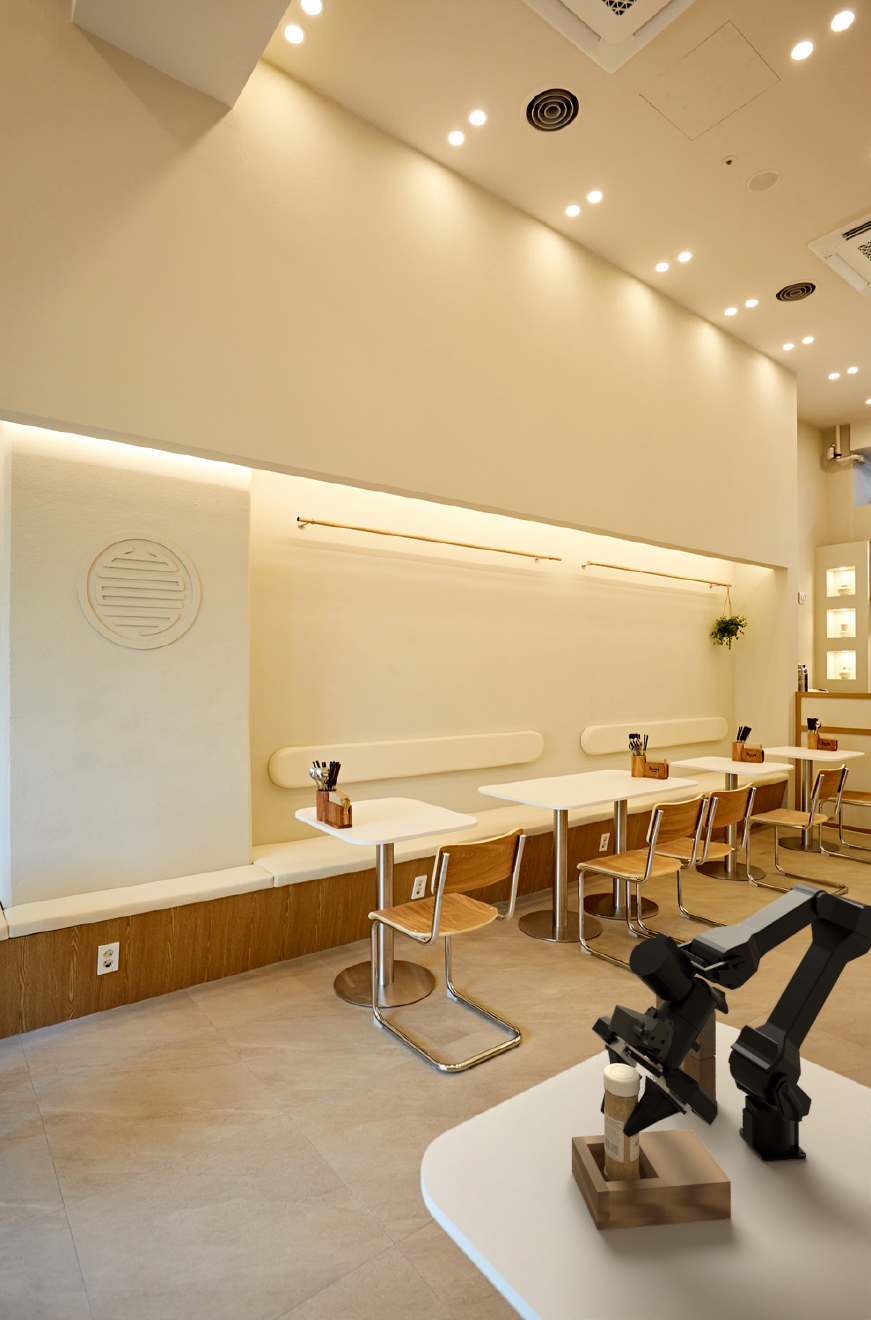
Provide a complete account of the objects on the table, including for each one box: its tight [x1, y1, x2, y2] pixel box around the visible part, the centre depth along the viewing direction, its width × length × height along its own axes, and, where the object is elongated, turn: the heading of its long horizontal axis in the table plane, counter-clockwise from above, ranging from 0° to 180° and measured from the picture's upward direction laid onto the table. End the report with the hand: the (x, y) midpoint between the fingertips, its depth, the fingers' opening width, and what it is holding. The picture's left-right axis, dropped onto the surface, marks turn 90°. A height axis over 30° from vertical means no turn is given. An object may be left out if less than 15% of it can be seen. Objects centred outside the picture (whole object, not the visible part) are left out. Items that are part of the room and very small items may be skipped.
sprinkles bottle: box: [602, 1063, 641, 1182], centre depth 89 cm, size 5×5×14 cm
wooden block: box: [655, 995, 717, 1101], centre depth 113 cm, size 4×11×18 cm, turn 26°
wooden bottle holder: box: [571, 1128, 732, 1231], centre depth 89 cm, size 17×10×4 cm, turn 96°
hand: (614, 1124), depth 89 cm, fingers closed on sprinkles bottle, 4 cm apart
